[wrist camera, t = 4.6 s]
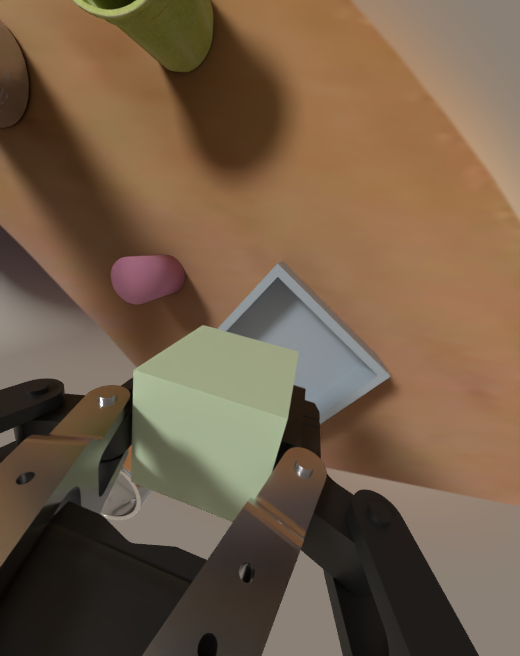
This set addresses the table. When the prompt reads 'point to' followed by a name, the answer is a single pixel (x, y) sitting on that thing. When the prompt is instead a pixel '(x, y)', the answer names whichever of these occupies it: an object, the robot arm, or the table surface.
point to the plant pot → (161, 27)
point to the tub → (309, 340)
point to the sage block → (211, 418)
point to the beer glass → (124, 495)
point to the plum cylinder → (146, 277)
